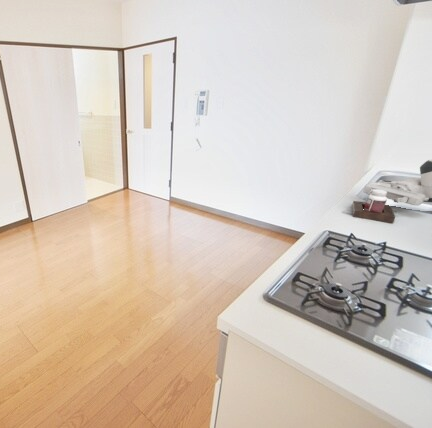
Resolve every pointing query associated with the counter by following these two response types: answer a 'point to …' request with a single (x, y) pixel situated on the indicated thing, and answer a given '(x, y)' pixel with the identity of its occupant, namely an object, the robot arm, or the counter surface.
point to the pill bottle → (376, 201)
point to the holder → (372, 213)
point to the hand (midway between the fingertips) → (382, 197)
